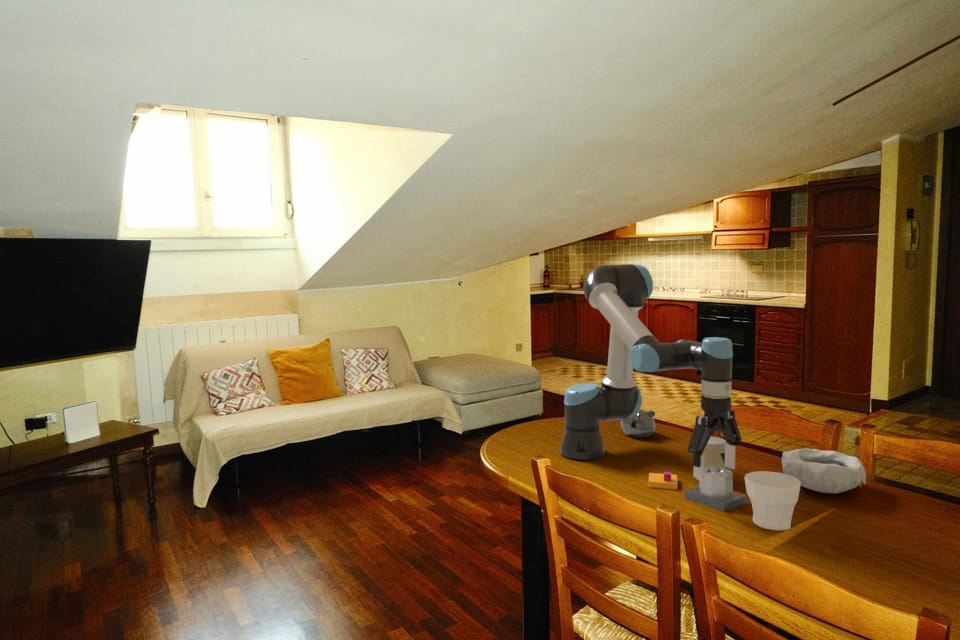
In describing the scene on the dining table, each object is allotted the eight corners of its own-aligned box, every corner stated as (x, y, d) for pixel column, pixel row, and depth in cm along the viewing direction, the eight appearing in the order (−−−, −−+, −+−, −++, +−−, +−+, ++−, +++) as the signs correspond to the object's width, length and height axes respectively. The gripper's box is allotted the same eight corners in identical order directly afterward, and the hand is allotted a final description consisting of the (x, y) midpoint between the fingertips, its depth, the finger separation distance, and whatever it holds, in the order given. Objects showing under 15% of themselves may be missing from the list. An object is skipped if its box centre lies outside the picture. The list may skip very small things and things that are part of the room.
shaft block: (684, 497, 164) (684, 471, 164) (707, 490, 170) (707, 464, 169) (723, 511, 154) (724, 483, 154) (746, 502, 160) (746, 475, 159)
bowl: (795, 473, 182) (796, 440, 181) (874, 489, 167) (875, 454, 167) (770, 491, 168) (770, 456, 167) (853, 511, 153) (854, 472, 152)
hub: (719, 500, 156) (719, 478, 156) (693, 491, 163) (693, 470, 162) (737, 494, 161) (738, 472, 160) (711, 485, 167) (711, 464, 167)
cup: (774, 538, 138) (775, 491, 138) (732, 518, 150) (733, 475, 149) (812, 528, 143) (813, 483, 143) (768, 510, 155) (769, 468, 154)
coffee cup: (729, 485, 173) (730, 444, 172) (695, 484, 175) (695, 443, 174) (723, 475, 182) (723, 436, 181) (691, 473, 184) (691, 435, 183)
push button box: (648, 489, 173) (648, 474, 173) (649, 479, 180) (649, 466, 180) (677, 491, 170) (677, 476, 170) (676, 482, 178) (677, 468, 178)
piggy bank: (642, 446, 213) (642, 415, 212) (612, 437, 225) (612, 407, 225) (664, 441, 218) (664, 410, 218) (634, 432, 231) (634, 403, 230)
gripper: (698, 404, 150) (697, 487, 152) (756, 391, 163) (754, 467, 165) (673, 399, 156) (672, 478, 158) (731, 387, 170) (729, 460, 172)
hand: (714, 472), depth 162 cm, fingers open, 13 cm apart
